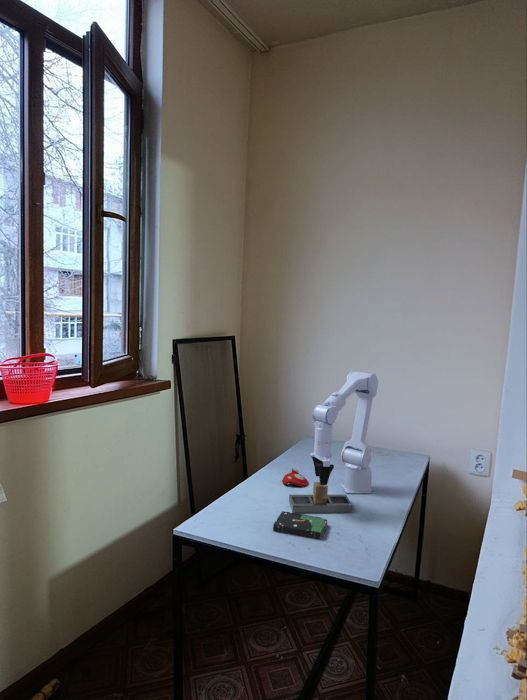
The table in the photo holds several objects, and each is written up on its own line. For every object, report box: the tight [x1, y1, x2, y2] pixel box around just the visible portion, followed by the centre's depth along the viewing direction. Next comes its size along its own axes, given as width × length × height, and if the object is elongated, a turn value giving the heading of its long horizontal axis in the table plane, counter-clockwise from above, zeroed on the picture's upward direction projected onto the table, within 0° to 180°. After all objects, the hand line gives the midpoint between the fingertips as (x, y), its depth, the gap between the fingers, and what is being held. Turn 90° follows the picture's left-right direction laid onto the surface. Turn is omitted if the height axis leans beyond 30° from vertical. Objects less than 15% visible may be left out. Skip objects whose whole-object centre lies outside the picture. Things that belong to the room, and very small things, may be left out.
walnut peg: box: [312, 481, 329, 503], centre depth 164 cm, size 4×4×8 cm
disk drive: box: [272, 510, 328, 541], centre depth 149 cm, size 10×3×15 cm
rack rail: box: [288, 494, 354, 514], centre depth 164 cm, size 20×9×2 cm, turn 95°
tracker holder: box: [281, 467, 309, 488], centre depth 186 cm, size 13×5×10 cm
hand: (321, 480), depth 163 cm, fingers open, 7 cm apart
